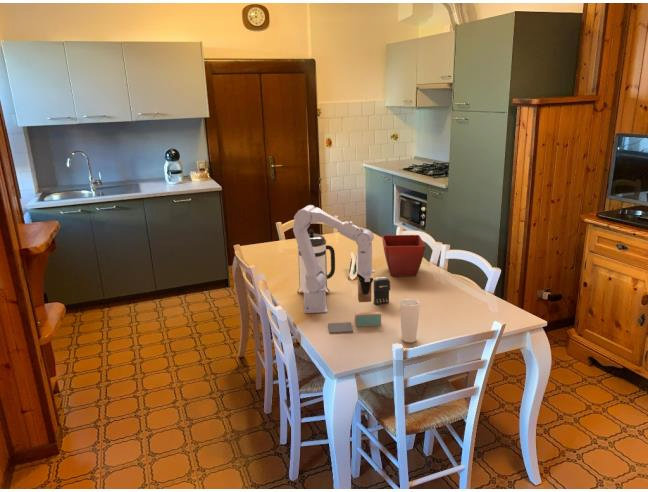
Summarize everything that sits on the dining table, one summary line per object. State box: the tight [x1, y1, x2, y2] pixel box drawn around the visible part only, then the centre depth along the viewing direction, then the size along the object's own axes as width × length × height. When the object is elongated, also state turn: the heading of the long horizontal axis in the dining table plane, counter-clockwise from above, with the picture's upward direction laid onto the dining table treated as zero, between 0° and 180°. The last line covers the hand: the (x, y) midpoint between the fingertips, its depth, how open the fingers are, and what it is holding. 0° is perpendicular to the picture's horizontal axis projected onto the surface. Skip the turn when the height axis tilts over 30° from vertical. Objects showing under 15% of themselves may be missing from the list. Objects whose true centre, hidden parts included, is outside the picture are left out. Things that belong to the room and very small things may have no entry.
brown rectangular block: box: [357, 280, 373, 303], centre depth 200 cm, size 5×4×8 cm
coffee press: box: [296, 229, 336, 295], centre depth 224 cm, size 17×16×30 cm
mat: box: [328, 321, 354, 334], centre depth 192 cm, size 9×8×1 cm
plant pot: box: [381, 234, 426, 277], centre depth 248 cm, size 19×19×17 cm
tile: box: [354, 311, 382, 327], centre depth 194 cm, size 10×2×5 cm, turn 94°
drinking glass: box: [399, 298, 420, 344], centre depth 180 cm, size 7×7×15 cm
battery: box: [372, 276, 391, 305], centre depth 213 cm, size 7×4×11 cm, turn 101°
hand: (364, 292), depth 200 cm, fingers closed on brown rectangular block, 3 cm apart
